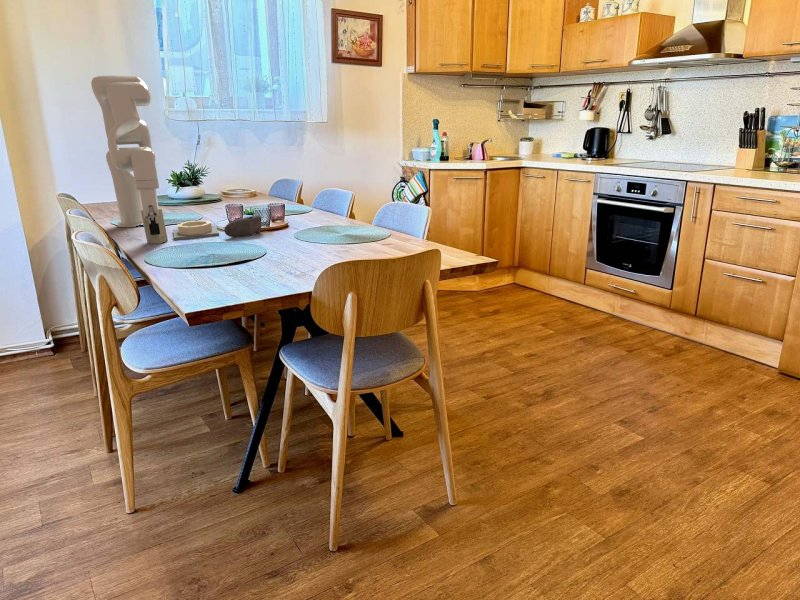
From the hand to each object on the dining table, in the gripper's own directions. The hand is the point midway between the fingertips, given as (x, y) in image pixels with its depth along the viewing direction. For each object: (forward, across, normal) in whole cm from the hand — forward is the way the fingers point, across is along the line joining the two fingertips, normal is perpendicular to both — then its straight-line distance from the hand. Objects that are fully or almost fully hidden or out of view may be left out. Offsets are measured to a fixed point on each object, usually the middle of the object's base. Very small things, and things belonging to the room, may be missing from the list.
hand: (155, 231), depth 205 cm
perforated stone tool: (+4, +5, +31) cm, 32 cm away
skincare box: (+4, 0, 0) cm, 4 cm away
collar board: (+4, -8, +14) cm, 17 cm away
